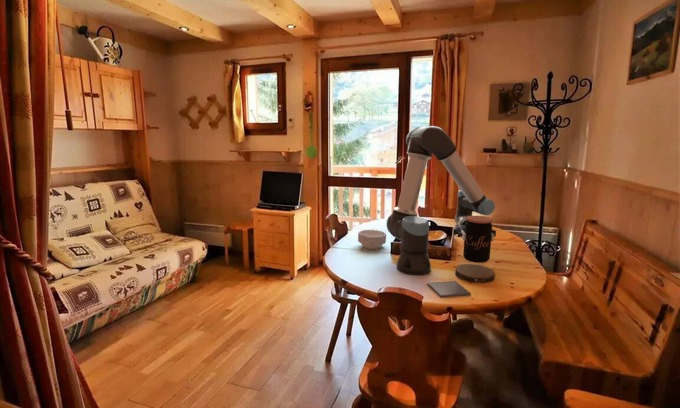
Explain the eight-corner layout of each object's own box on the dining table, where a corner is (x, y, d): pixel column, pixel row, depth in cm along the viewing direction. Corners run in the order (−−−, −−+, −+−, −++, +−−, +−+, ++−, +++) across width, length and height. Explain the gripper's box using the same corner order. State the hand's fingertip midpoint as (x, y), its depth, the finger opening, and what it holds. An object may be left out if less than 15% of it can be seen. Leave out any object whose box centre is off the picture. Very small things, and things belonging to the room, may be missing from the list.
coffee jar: (460, 260, 152) (463, 219, 148) (465, 253, 161) (467, 214, 158) (488, 265, 147) (491, 222, 143) (490, 257, 156) (494, 217, 153)
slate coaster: (440, 297, 134) (440, 295, 133) (427, 285, 145) (427, 282, 145) (470, 295, 136) (470, 293, 135) (455, 283, 147) (455, 280, 147)
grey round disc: (452, 269, 164) (453, 262, 164) (489, 271, 162) (489, 265, 161) (457, 282, 149) (458, 275, 148) (498, 285, 146) (499, 278, 146)
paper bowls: (391, 249, 192) (391, 235, 190) (365, 252, 186) (365, 237, 185) (377, 241, 206) (378, 228, 204) (353, 244, 200) (353, 230, 199)
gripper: (492, 233, 171) (506, 247, 150) (442, 231, 174) (449, 245, 153) (493, 218, 170) (508, 229, 148) (443, 216, 173) (450, 228, 151)
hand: (478, 237), depth 150 cm, fingers closed on coffee jar, 11 cm apart
